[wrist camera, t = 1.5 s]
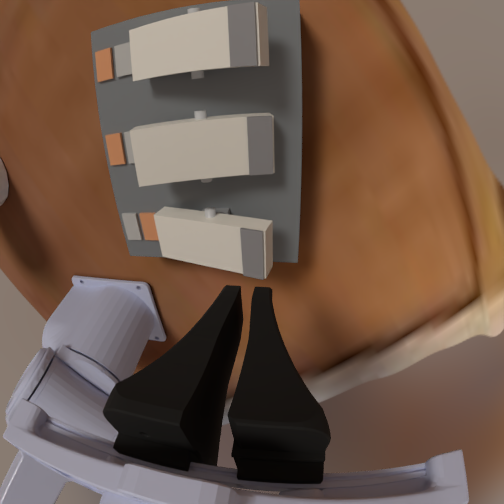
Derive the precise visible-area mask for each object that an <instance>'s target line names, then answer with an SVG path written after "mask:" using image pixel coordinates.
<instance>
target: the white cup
mask: <svg viewBox="0 0 504 504" xmlns="http://www.w3.org/2000/svg"><path fill="white" fill-rule="evenodd" d="M8 188H9V183H8V177H7V172H6V169H5V167H4V164H3V162H2V160H1V158H0V206H1V205H2V204H3V203H4V201H5V200H6V198H7V197H8Z"/></svg>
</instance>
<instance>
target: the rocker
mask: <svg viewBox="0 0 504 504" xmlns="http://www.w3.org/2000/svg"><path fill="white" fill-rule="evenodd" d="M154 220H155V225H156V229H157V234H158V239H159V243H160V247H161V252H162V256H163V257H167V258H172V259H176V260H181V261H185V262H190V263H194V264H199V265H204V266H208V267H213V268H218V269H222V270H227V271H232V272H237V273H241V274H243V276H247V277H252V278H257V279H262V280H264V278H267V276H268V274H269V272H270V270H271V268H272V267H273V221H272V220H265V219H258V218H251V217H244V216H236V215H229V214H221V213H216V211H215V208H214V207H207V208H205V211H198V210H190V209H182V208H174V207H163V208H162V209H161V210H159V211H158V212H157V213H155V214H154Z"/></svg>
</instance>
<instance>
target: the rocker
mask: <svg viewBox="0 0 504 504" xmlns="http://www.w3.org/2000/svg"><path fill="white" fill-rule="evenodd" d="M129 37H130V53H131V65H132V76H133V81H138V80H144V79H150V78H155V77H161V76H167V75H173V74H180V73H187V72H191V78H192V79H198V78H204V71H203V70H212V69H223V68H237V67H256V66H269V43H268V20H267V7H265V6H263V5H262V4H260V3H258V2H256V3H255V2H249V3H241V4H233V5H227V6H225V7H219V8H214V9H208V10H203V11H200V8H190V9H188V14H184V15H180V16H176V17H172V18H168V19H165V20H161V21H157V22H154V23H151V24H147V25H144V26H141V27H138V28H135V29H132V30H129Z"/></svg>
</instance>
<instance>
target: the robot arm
mask: <svg viewBox="0 0 504 504" xmlns="http://www.w3.org/2000/svg"><path fill="white" fill-rule="evenodd" d="M72 282H73V284H74V286H73V287H72V288H71V290H70V291H69V292H68V294H67V295H66V296H65V298H64V299H63V300H62V302H61V303H60V304H59V306H58V307H57V308H56V310H55V311H54V312H53V314H52V315H51V317H50V318H49V319H48V321H47V323H46V325H45V328H44V331H43V337H42V346H43V348H41V349H40V350H39V351H38V352H37V354H36V355H35V357H34V358H33V359H32V361H31V362H30V364H29V365H28V367H27V369H26V370H25V372H24V373H23V375H22V377H21V379H20V380H19V382H18V384H17V386H16V387H15V389H14V391H13V394H12V397H11V399H10V400H9V402H8V405H7V407H6V410H5V411H6V417H5V419H6V422H7V425H8V426H7V428H6V431H5V432H4V435H3V438H4V439H6V440H7V441H8V442H9V443H11V444H12V445H13V446H15V447H16V448H18V449H19V451H18V453H17V455H16V457H15V459H14V461H13V462H12V464H11V467H10V468H9V471H8V473H7V475H6V477H5V479H4V481H3V483H2V485H1V487H0V504H55V502H56V501H57V499H58V497H59V495H60V493H61V491H62V489H63V487H64V485H65V483H66V482H70V481H74V482H75V483H78V484H80V485H82V486H84V487H86V488H88V489H90V490H92V491H95V492H97V493H99V494H102V497H101V500H100V504H467V503H468V502H469V495H468V487H467V479H466V471H465V465H464V459H463V453H462V450H461V449H459V450H455V451H451V452H447V453H443V454H439V455H436V456H433V457H432V458H430V459H428V460H427V461H426V463H421V464H415V465H410V466H403V467H397V468H389V469H381V470H372V471H362V472H348V473H323V469H324V461H325V450H326V448H327V447H328V445H329V443H330V439H331V437H330V429H329V425H328V422H327V419H326V417H325V414H324V411H323V409H322V407H321V406H320V405H319V403H318V402H317V401H316V399H315V398H314V397H313V395H312V394H311V393H310V391H309V390H308V388H307V387H306V385H305V384H304V382H303V380H302V378H301V377H300V375H299V373H298V372H297V370H296V368H295V366H294V364H293V362H292V360H291V358H290V356H289V354H288V352H287V350H286V347H285V345H284V342H283V340H282V337H281V334H280V331H279V328H278V325H277V321H276V318H275V314H274V309H273V303H272V289H271V288H270V287H255V289H254V292H253V296H252V303H251V317H250V331H249V340H248V345H247V349H246V353H245V358H244V362H243V366H242V370H241V373H240V377H239V380H238V384H237V387H236V391H235V394H234V397H233V400H232V403H231V406H230V409H229V412H228V418H229V422H230V426H231V429H232V434H233V437H234V443H233V449H232V457H234V460H235V463H236V466H237V469H232V468H225V467H218V466H217V460H218V451H219V442H220V435H221V427H222V420H223V413H224V407H225V400H226V394H227V389H228V384H229V380H230V376H231V373H232V369H233V365H234V362H235V358H236V354H237V351H238V347H239V343H240V339H241V332H242V325H243V311H242V299H241V287H240V286H230V285H226V286H225V287H224V288H223V290H222V291H221V293H220V294H219V296H218V297H217V298H216V300H215V301H214V302H213V304H212V305H211V306H210V308H209V309H208V310H207V311H206V313H205V314H204V315H203V316H202V318H201V319H200V320H199V321H198V322H197V323H196V324H195V326H194V327H193V328H192V329H191V330H190V331H189V332H188V333H187V334H186V335H185V336H184V337H183V338H182V339H181V340H180V341H179V342H178V343H177V344H176V345H174V346H173V347H172V348H171V349H170V350H169V351H167V352H166V353H165V354H164V355H162V356H161V357H160V358H158V359H157V360H156V361H154V362H153V363H151V364H150V365H148V366H147V367H145V368H144V369H142V370H141V371H139V372H137V373H136V374H134V375H133V373H134V371H135V368H136V366H137V364H138V361H139V359H140V357H141V355H142V352H143V350H144V348H145V346H146V343H147V341H148V339H149V340H155V341H165V340H166V335H165V332H164V329H163V326H162V323H161V320H160V317H159V314H158V311H157V308H156V305H155V302H154V299H153V296H152V292H151V289H150V286H149V285H148V284H147V283H145V282H137V281H125V280H114V279H103V278H93V277H83V276H73V277H72ZM139 286H140V287H141V288H140V287H139ZM231 487H234V488H231ZM235 488H243V489H253V490H264V491H280V493H279V495H277V494H268V493H261V492H254V491H247V490H241V489H235Z"/></svg>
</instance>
